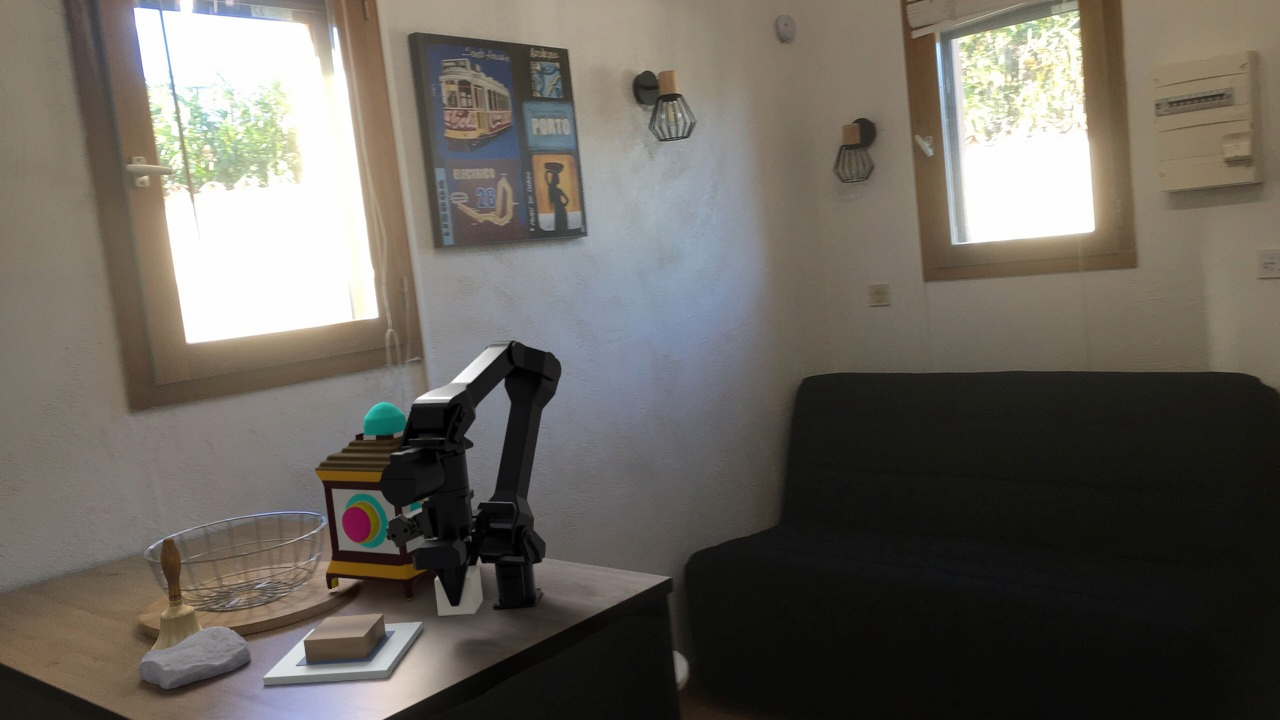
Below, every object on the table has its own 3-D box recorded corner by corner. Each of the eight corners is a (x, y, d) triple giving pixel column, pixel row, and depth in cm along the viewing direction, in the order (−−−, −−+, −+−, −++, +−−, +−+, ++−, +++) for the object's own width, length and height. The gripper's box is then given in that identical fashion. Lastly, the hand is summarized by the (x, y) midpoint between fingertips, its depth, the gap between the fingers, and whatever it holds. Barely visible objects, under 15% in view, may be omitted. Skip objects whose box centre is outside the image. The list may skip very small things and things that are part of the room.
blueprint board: (313, 635, 137) (310, 608, 137) (423, 628, 136) (419, 601, 136) (264, 685, 121) (259, 654, 121) (387, 677, 120) (383, 647, 120)
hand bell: (153, 643, 140) (138, 537, 138) (215, 631, 143) (200, 527, 141) (146, 664, 132) (130, 551, 131) (211, 650, 135) (196, 540, 134)
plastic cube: (447, 602, 134) (443, 567, 134) (482, 600, 134) (479, 565, 133) (438, 615, 129) (434, 579, 129) (474, 613, 129) (470, 577, 128)
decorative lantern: (396, 557, 173) (377, 393, 170) (486, 563, 164) (468, 391, 161) (314, 596, 155) (291, 413, 152) (411, 605, 146) (388, 412, 143)
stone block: (260, 673, 131) (222, 645, 137) (258, 641, 129) (220, 615, 135) (173, 712, 122) (136, 681, 127) (170, 679, 120) (133, 649, 126)
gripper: (409, 476, 139) (421, 580, 141) (366, 509, 121) (380, 629, 122) (485, 470, 139) (496, 575, 140) (453, 503, 120) (466, 623, 122)
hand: (460, 598), depth 131 cm, fingers closed on plastic cube, 5 cm apart
